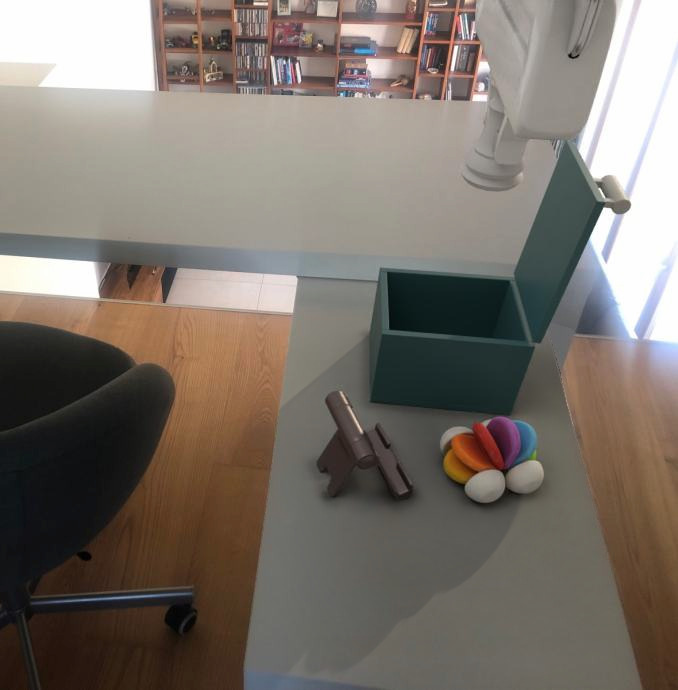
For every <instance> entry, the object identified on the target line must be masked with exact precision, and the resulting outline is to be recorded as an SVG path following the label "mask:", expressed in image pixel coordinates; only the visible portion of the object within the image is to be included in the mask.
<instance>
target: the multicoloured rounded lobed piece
mask: <svg viewBox="0 0 678 690" xmlns="http://www.w3.org/2000/svg"><path fill="white" fill-rule="evenodd" d="M537 444H538V437H537V433H536V431H535V429H534V428H533V426H532V425H530V424H529V423H528V422H525V421H522V420H518V419H517V420H511V419H510V418H508V417H505V416H496V417H493V418H489V419H486V420H484V421H482V422H480V421H477V422H475V423H473V424H472V429H470V428H468V427H466V426H459V425H458V426H452V427H450V428H448V429H447V430H446V431H445V432H444V433H443V434H442V435H441V438H440V440H439V449H440V453H441V454H442V456H444V458H443V462H442V466H443V471H444V472H445V474H446V475H447V476H448V477H449V478H450V479H452V481H455V482H457V483H459V484H463V485H464V492H465V495H466V496H468V498H470V499H471V500H473V501H474V502H477V503H482V504H488V503H492V502H495V501H497V500H498V499H499V498H501V496H502V495H503V494H504V491H505V489H509V490H510V491H512V492H513V493H516V494H529V493H532V492H534V491H536V490H537V489H538V488H539V487H540V486H541V485H542V483H543V480H544V478H545V477H544V476H545V475H544V474H545V473H544V468H543V465H542V464H541V462H540V461H537V450H536V448H537V446H538V445H537Z"/></svg>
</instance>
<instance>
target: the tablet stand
mask: <svg viewBox="0 0 678 690" xmlns="http://www.w3.org/2000/svg"><path fill="white" fill-rule="evenodd" d="M324 403H325V405H326V407H327V410H328V411H329V413H330V415H331V417H332V420H333V422H334V424H335V425H336V428H337V430H336V431H335V432H334V434H333V436H332V437H331V439H330V440H329V441H328V443H327V445H326V446H325V448H324V449H323V451H322V452H321V454H320V455H319V457H318V459H317V460H316V467H317V469H318V471H319V473H323V472H324V471H325V470H326V469H327V470H328V472H329V475H330V480H329V483H328V484H327V486H326V489H327V492H328V493H329V495H330V496H331V497H335V496H336V495H337V494H338V492H339V491H340V489H341V488H342V486H343V485H344V484H345V482H346V481H347V479H348V478H349V476H350V475H351V474H352V472H353V471H354V469H355V468H357V469H358V470H360V471H361V470H362V471H364V470H369V469H372V468H374V467H379V469H380V471H381V473H382V474H383V476H384V478H385V480H386V482H387V484H388V489H389V490H390V492H391V494H393V496H394V497H395V499H396V500H399V501H403V500H406V499H408V498H410V497H411V496H412V495H413V493H414V483H413V481H412V479H411V478H410V477H411V476H409V474H408V472H407V470H406V469H405V466H404V464H403V463H402V462H401V461H398V458H397V457H396V456H395V453H394V451H393V449H392V448H391V442H390V440H389V438H388V436H387V434H386V433H385V431H384V429H383V427H382V426H381V424H380V422H378V423H376V424H375V426H374V428H372V429H370V430H368V431H366V430H365V429H364V428H363V426H362V424H361V423H360V421H359V419H358V417H357V415H356V413H355V411H354V407H353V405H352V403H351V401H350V399H349V397H348V396H346V393H345V392H343V391H342V390H334V391H331V392H329V393H328V394H327V395H326V396H325V399H324Z"/></svg>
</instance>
